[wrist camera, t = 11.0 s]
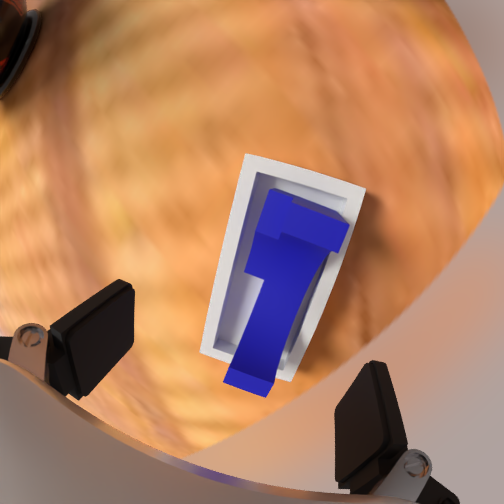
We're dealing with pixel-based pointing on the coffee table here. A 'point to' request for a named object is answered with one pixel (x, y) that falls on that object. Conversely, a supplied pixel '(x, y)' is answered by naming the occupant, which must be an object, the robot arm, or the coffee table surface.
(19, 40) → the amphora vase
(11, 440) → the robot arm
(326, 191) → the tray
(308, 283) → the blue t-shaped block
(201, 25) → the coffee table surface
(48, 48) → the coffee table surface
